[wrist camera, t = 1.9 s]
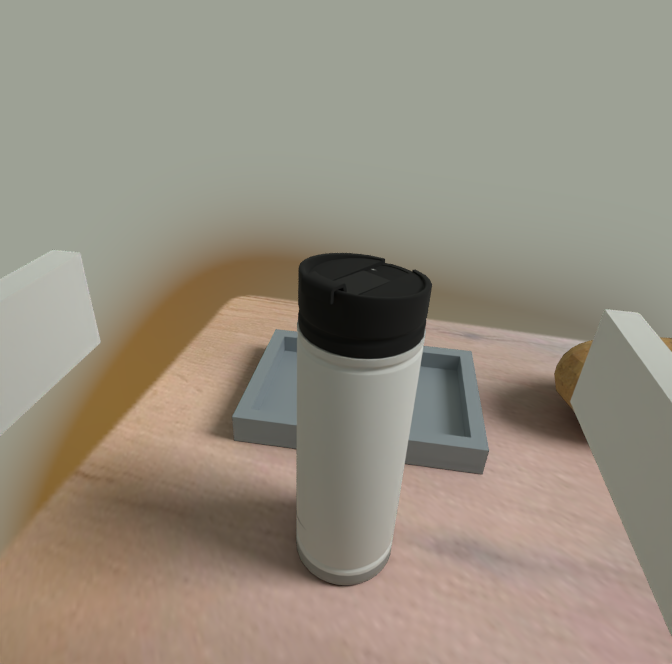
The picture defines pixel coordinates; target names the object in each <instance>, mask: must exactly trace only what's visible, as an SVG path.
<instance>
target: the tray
mask: <svg viewBox="0 0 672 664" xmlns="http://www.w3.org/2000/svg"><path fill="white" fill-rule="evenodd" d="M297 337H298V332H295V331H286V330H277V329H276V330H275V332H274V334H273V336H272V338H271V340H270V342H269V344H268V346H267V348H266V350H265V352H264V354H263V356H262V358H261V360H260V362H259V364H258V366H257V368H256V370H255V372H254V374H253V376H252V378H251V380H250V382H249V384H248V386H247V388H246V390H245V392H244V394H243V396H242V398H241V400H240V402H239V404H238V406H237V408H236V410H235V412H234V414H233V416H232V421H233V432H234V440H236V441H243V442H250V443H258V444H265V445H272V446H279V447H287V448H294V449H297ZM488 452H489V448H488V442H487V437H486V431H485V425H484V420H483V414H482V408H481V403H480V397H479V391H478V386H477V380H476V374H475V369H474V363H473V357H472V352H471V351H464V350H455V349H447V348H438V347H429V346H423V353H422V359H421V365H420V371H419V377H418V384H417V390H416V396H415V402H414V409H413V415H412V421H411V427H410V434H409V440H408V446H407V452H406V458H405V464H411V465H419V466H426V467H433V468H441V469H448V470H455V471H463V472H470V473H477V474H483V470H484V467H485V463H486V460H487V456H488Z"/></svg>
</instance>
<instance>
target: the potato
mask: <svg viewBox="0 0 672 664" xmlns="http://www.w3.org/2000/svg"><path fill="white" fill-rule="evenodd" d="M660 339H661V340H662V341H663V342H664V343H665V345H666V346H667V347H668V348H669V349H670V351H671V352H672V338H661V337H660ZM592 342H593V340H591V341H587V342H584V343H581V344H578V345H577V346H575V347H573V348H571V349H570V350H569V351H568V352H566V353H565V354H564V355H563V356H562V358H561V359H560V361H559V363H558V364H557V367H556V370H555V373H554V375H555V384H556V391H557V392H558V393H559V394H560V396H561V397H562V398H563V399H564V400H565V401H566V403H567V404H568V405H569V406H570V407H571V408H572V410H573V407H572V405H571V403H570V400H571V398H572V395H573V392H574V390H575V387H576V384H577V382H578V379H579V376H580V374H581V371H582V369H583V366H584V363H585V361H586V358H587V355H588V353H589V350H590V347H591V345H592ZM573 411H574V410H573Z"/></svg>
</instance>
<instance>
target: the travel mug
mask: <svg viewBox="0 0 672 664" xmlns="http://www.w3.org/2000/svg"><path fill="white" fill-rule="evenodd" d="M431 288H432V283H431V281H430V279H429V278H428V277H427V276H426V275H424V274H422V273H421V272H419V271H417V270H413V271H410V270H407V269H405V268H402V267H399V266H396V265H393V264H387V263H385V259H384V258H379V257H375V256H370V255H362V254H352V253H329V254H321V255H316V256H312V257H309V258H307V259H305V260H304V261H302V262H301V263H300V266H299V288H298V305H299V313H298V322H297V332H298V337H297V492H296V526H297V528H296V543H297V550H298V553H299V556H300V559H301V560H302V562H303V564H304V565H305V566H306V567H307V569H308V570H309V571H310V572H311V573H313V574H314V575H315V576H317V577H318V578H320V579H322V580H324V581H326V582H329V583H333V584H337V585H354V584H359V583H362V582H365V581H368V580H369V579H371V578H373V577H374V576H376V575H377V574H378V573H379V572H380V571H381V570H382V569H383V568H384V566H385V565H386V563H387V561H388V559H389V556H390V552H391V546H392V539H393V533H394V527H395V521H396V514H397V508H398V502H399V496H400V490H401V483H402V477H403V471H404V465H405V458H406V452H407V446H408V440H409V434H410V427H411V421H412V415H413V409H414V402H415V396H416V390H417V384H418V377H419V371H420V365H421V359H422V353H423V344H424V340H425V334H426V330H425V326H426V318H427V313H428V307H429V301H430V295H431Z"/></svg>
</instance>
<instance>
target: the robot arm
mask: <svg viewBox="0 0 672 664" xmlns="http://www.w3.org/2000/svg"><path fill="white" fill-rule="evenodd" d="M99 344H100V337H99V333H98V328H97V324H96V320H95V315H94V311H93V307H92V302H91V297H90V293H89V289H88V285H87V280H86V275H85V271H84V267H83V262H82V258H81V254H80V253H78V252H69V251H60V250H51V251H50V252H48V253H46V254H44V255H43V256H41V257H39V258H37V259H35V260H34V261H32V262H30V263H28V264H26V265H25V266H23V267H21V268H19V269H17V270H15V271H14V272H12V273H10V274H8V275H6V276H5V277H3V278H1V279H0V436H1V435H2V434H3V433H4V432H5V431H6V430H7V429H8V428H9V427H10V426H12V424H14V423H15V422H16V421H17V420H18V419H19V418H20V417H21V416H22V415H23V414H24V413H25V412H26V411H28V410H29V409H30V408H31V407H32V406H33V405H34V404H35V403H36V402H37V401H38V400H39V399H41V398H42V397H43V396H44V395H45V394H46V393H47V392H48V391H49V390H50V389H51V388H52V387H53V386H54V385H56V384H57V383H58V381H60V380H61V379H62V378H63V377H64V376H65V375H66V374H67V373H68V372H69V371H71V370H72V369H73V368H74V367H75V366H76V365H77V364H78V363H79V362H80V361H81V360H82V359H83V358H84V357H86V356H87V355H88V354H89V353H90V352H91V351H92V350H93V349H94V348H95V347H96V346H97V345H99ZM570 403H571V405H572V407H573V410H574V412H575V414H576V416H577V419H578V421H579V423H580V426H581V428H582V430H583V433H584V435H585V437H586V440H587V442H588V444H589V447H590V449H591V451H592V454H593V456H594V458H595V460H596V463H597V465H598V467H599V470H600V472H601V474H602V477H603V479H604V481H605V484H606V486H607V488H608V491H609V493H610V495H611V497H612V500H613V502H614V504H615V507H616V509H617V511H618V514H619V516H620V518H621V521H622V523H623V525H624V528H625V530H626V532H627V534H628V537H629V539H630V541H631V544H632V546H633V548H634V551H635V553H636V555H637V558H638V560H639V562H640V565H641V567H642V569H643V571H644V574H645V576H646V578H647V581H648V583H649V585H650V588H651V590H652V592H653V595H654V597H655V599H656V602H657V604H658V606H659V608H660V611H661V613H662V615H663V618H664V620H665V622H666V625H667V627H668V629H669V632H670V634H671V636H672V352H671V351H670V349H669V348H668V347H667V346H666V345H665V343H664V342H663V341H662V340H661V339H660V337H659V336H658V335H657V334H656V333H655V331H654V330H653V329H652V328H651V327H650V325H648V323H647V322H646V321H645V320H644V318H643V317H642V316H641V315H640V313H635V312H626V311H616V310H607V309H605V310H604V313H603V315H602V318H601V321H600V323H599V326H598V329H597V331H596V334H595V337H594V339H593V342H592V345H591V347H590V350H589V353H588V355H587V358H586V361H585V363H584V366H583V369H582V371H581V374H580V376H579V379H578V382H577V384H576V387H575V390H574V392H573V395H572V398H571V400H570Z"/></svg>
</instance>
